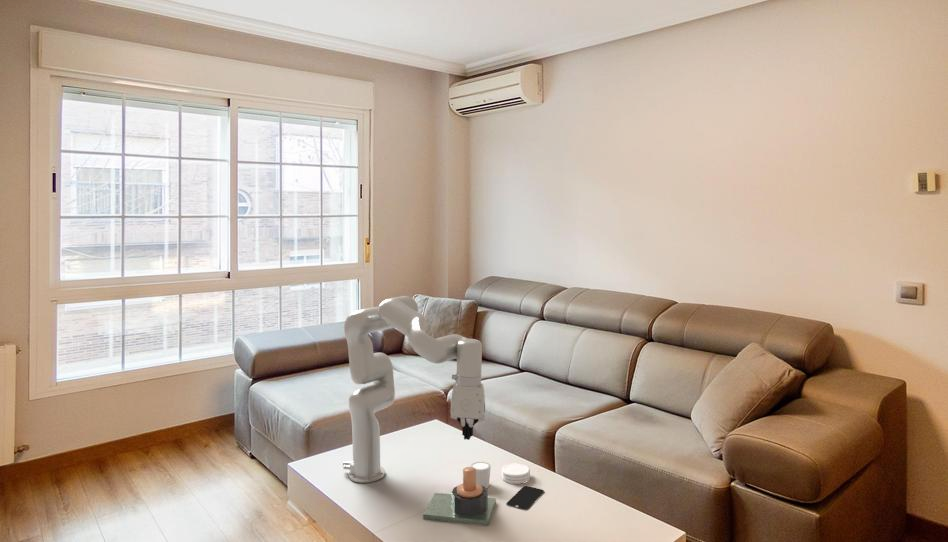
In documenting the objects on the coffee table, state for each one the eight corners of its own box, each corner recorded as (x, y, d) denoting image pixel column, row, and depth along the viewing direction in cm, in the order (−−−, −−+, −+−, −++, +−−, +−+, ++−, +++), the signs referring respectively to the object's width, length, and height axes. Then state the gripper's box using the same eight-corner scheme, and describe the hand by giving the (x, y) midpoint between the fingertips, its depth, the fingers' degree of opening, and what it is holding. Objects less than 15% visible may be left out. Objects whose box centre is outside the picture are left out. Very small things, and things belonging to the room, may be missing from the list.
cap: (454, 505, 176) (453, 474, 175) (459, 493, 184) (459, 463, 183) (479, 508, 175) (479, 476, 174) (484, 495, 183) (484, 465, 182)
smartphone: (504, 504, 184) (524, 484, 197) (504, 506, 184) (524, 487, 197) (526, 510, 180) (545, 490, 193) (526, 512, 180) (545, 492, 193)
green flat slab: (423, 519, 176) (422, 498, 175) (435, 497, 189) (435, 478, 189) (488, 525, 172) (488, 504, 171) (495, 502, 185) (495, 483, 185)
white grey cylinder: (488, 491, 193) (488, 470, 193) (468, 489, 195) (468, 469, 194) (492, 481, 200) (492, 462, 199) (472, 480, 201) (472, 460, 201)
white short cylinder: (531, 473, 207) (531, 464, 207) (528, 486, 197) (528, 476, 197) (504, 471, 209) (504, 461, 209) (499, 483, 199) (499, 473, 199)
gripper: (441, 381, 174) (440, 440, 176) (491, 385, 171) (489, 445, 173) (447, 374, 181) (446, 431, 183) (495, 378, 178) (493, 435, 180)
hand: (467, 437), depth 178 cm, fingers closed
